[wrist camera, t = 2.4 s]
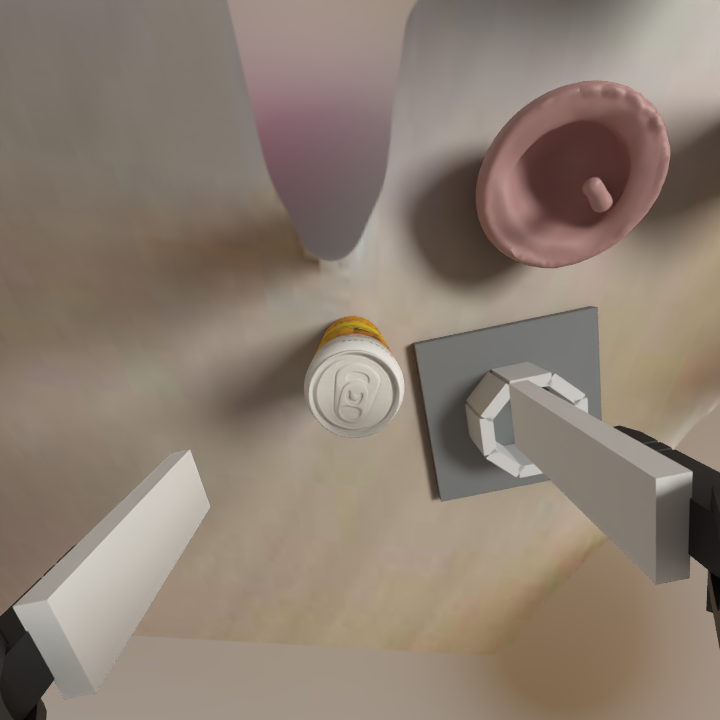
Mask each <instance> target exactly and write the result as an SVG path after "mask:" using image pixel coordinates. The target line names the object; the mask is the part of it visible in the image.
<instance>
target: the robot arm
mask: <svg viewBox="0 0 720 720" xmlns="http://www.w3.org/2000/svg"><path fill="white" fill-rule="evenodd" d="M509 392H510V401H511V411H512V420H513V430H514V439H515V446H516V447H517V448H518V449H519V450H520V451H521V452H522V453H523V454H524V455H525V456H526V457H527V458H528V459H529V460H530V461H531V462H533V463H534V464H535V465H536V466H537V467H538V468H539V469H540V470H541V471H542V472H543V473H544V474H545V475H546V476H547V477H548V478H549V479H550V480H551V481H552V482H553V483H554V484H555V485H556V486H557V487H558V488H559V489H560V490H561V491H562V492H563V493H564V494H565V495H566V496H567V497H568V498H569V499H570V500H571V501H572V502H573V503H574V504H575V505H576V506H577V507H578V508H579V509H580V510H581V511H582V512H583V513H584V514H585V515H586V516H587V517H588V518H589V519H590V520H591V521H592V522H593V523H594V524H595V525H596V526H597V527H598V528H599V529H600V530H601V531H602V532H603V533H604V534H605V535H606V536H607V537H608V538H609V539H610V540H611V541H612V542H613V543H614V544H615V545H616V546H617V547H618V548H619V549H620V550H622V552H623V553H624V554H625V555H626V556H627V557H628V558H629V559H630V560H632V562H633V563H634V564H636V565H637V567H638V568H639V569H640V570H641V571H642V572H644V573H645V574H646V575H647V576H648V577H649V578H650V579H651V580H652V581H653V582H654V583H655V584H656V585H657V584H661V583H667V582H672V581H677V580H683V579H688V578H689V577H690V574H689V573H690V556H692V557H693V558H694V559H695V560H697V561H698V562H699V563H700V564H702V565H703V566H704V567H705V568H707V569H708V585H707V607H706V610H707V611H709V612H712V613H713V615H714V620H715V625H716V631H717V636H718V642H719V647H720V473H719V472H718V471H716V470H714V469H712V468H710V467H708V466H706V465H704V464H702V463H700V462H698V461H696V460H694V459H692V458H690V457H688V456H687V455H685V454H683V453H681V452H679V451H677V450H672V448H671V447H669V446H667V445H665V444H663V443H661V442H659V443H658V441H657V440H656V439H654V438H652V437H650V436H648V435H646V434H644V433H642V432H640V431H637V430H633V429H630V428H626V427H623V426H616V427H612V426H610V425H608V424H606V423H604V422H603V421H601V420H599V419H597V418H595V417H594V416H592V415H590V414H588V413H586V412H585V411H583V410H581V409H579V408H577V407H576V406H574V405H572V404H570V403H568V402H567V401H565V400H563V399H561V398H559V397H558V396H556V395H554V394H552V393H550V392H549V391H547V390H545V389H543V388H541V387H540V386H538V385H536V384H534V383H532V382H531V381H529V380H524V381H519V382H514V383H510V384H509ZM209 508H210V504H209V502H208V499H207V496H206V493H205V490H204V488H203V485H202V482H201V479H200V476H199V474H198V471H197V468H196V465H195V462H194V460H193V457H192V454H191V451H190V449H188V450H183V451H178V452H173V453H171V454H170V455H169V456H168V457H167V458H166V459H165V460H164V461H163V462H162V463H161V464H159V465H158V466H157V467H156V468H155V469H154V470H153V471H152V472H151V473H150V474H149V475H148V476H147V477H146V478H145V479H144V480H143V481H142V482H141V483H140V484H139V485H138V486H137V487H136V488H135V489H134V490H133V491H132V492H131V493H130V494H128V495H127V496H126V497H125V498H124V499H123V500H122V501H121V502H120V503H119V504H118V505H117V506H116V507H115V508H114V509H113V510H112V511H111V512H110V513H109V514H108V515H107V516H106V517H105V518H104V519H103V520H102V521H101V522H100V523H99V524H97V525H96V526H95V527H94V528H93V529H92V530H91V531H90V532H89V533H88V534H87V535H86V536H85V537H84V538H83V539H82V540H81V541H80V542H79V543H78V544H76V545H75V546H73V547H72V548H71V549H70V550H69V551H68V552H67V553H66V554H65V555H64V556H63V557H62V558H61V559H60V560H59V561H58V562H57V564H56V565H53V566H52V567H51V568H50V569H49V570H48V571H47V572H46V573H45V574H44V577H43V578H40V579H39V580H38V581H37V582H36V583H35V584H34V585H33V586H32V587H31V588H30V589H28V590H27V591H26V592H25V593H24V594H23V595H22V596H21V597H20V598H19V599H18V600H17V601H16V602H15V603H14V604H13V605H12V606H11V607H10V608H9V609H8V610H7V611H6V612H5V613H4V614H2V615H1V616H0V720H46V713H47V711H46V708H45V705H44V703H43V701H42V700H41V697H42V696H43V694H44V693H45V691H46V690H47V689H48V687H49V686H50V685H51V683H52V682H53V681H54V682H55V684H56V685H57V687H58V689H59V690H60V692H61V694H62V696H63V698H64V699H68V698H74V697H79V696H84V695H89V694H95V693H96V692H97V691H98V689H99V688H100V686H101V684H102V683H103V681H104V680H105V678H106V676H107V675H108V673H109V671H110V670H111V668H112V667H113V665H114V663H115V662H116V660H117V658H118V657H119V655H120V653H121V652H122V650H123V649H124V647H125V645H126V643H127V642H128V640H129V639H130V637H131V636H132V634H133V632H134V631H135V629H136V627H137V626H138V624H139V623H140V621H141V619H142V618H143V616H144V614H145V613H146V611H147V609H148V608H149V606H150V605H151V603H152V601H153V600H154V598H155V596H156V595H157V593H158V592H159V590H160V588H161V587H162V585H163V583H164V582H165V580H166V579H167V577H168V575H169V574H170V572H171V570H172V569H173V567H174V565H175V564H176V562H177V561H178V559H179V557H180V556H181V554H182V552H183V551H184V549H185V548H186V546H187V544H188V543H189V541H190V539H191V538H192V536H193V535H194V533H195V531H196V530H197V528H198V526H199V525H200V523H201V521H202V520H203V518H204V517H205V515H206V513H207V512H208V510H209Z"/></svg>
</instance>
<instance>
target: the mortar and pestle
mask: <svg viewBox="0 0 720 720" xmlns="http://www.w3.org/2000/svg"><path fill="white" fill-rule="evenodd" d="M669 161H670V144H669V142H668V136H667V132H666V129H665V125H664V122H663V120H662V118H661V115H660V114H659V113H658V111H657V109H656V108H655V106H654V105H653V104H652V103H651V102H650V101H648V100H647V99H646V98H645V97H644V96H643V95H642V94H641V93H639V92H637V91H635V90H633V89H631V88H629V87H627V86H624V85H621V84H618V83H614V82H608V81H583V82H578V83H573V84H569V85H565V86H562V87H560V88H557V89H555V90H552V91H549V92H548V93H546V94H544V95H542V96H540V97H538V98H537V99H535V100H533V101H532V102H530V103H529V104H527V105H526V106H525V107H523V108H522V109H521V110H520V111H519V112H517V113H516V114H515V115H514V116H513V117H512V118H511V119H510V120H509V121H508V122H507V123H506V125H505V126H504V127H503V128H502V129H501V131H500V132H499V133H498V135H497V136H496V138H495V139H494V141H493V142H492V144H491V146H490V147H489V149H488V151H487V153H486V155H485V157H484V159H483V162H482V165H481V168H480V171H479V175H478V179H477V185H476V209H477V214H478V218H479V221H480V224H481V227H482V229H483V231H484V233H485V234H486V236H487V238H488V239H489V240H490V242H491V243H492V244H493V245H494V246H495V247H496V248H497V249H498V250H499V251H500V252H502V253H503V254H504V255H506V256H508V257H509V258H511V259H513V260H515V261H517V262H520V263H522V264H525V265H529V266H534V267H540V268H559V267H563V266H568V265H572V264H576V263H579V262H582V261H584V260H587V259H589V258H592V257H594V256H596V255H598V254H600V253H602V252H603V251H605V250H607V249H608V248H610V247H611V246H613V245H614V244H616V243H617V242H618V241H620V240H621V239H622V238H623V237H624V236H625V235H627V234H628V233H629V232H630V231H631V230H632V229H633V228H634V227H635V226H636V225H637V224H638V223H639V222H640V221H641V220H642V218H643V217H644V216H645V215H646V214H647V213H648V211H649V209H650V208H651V207H652V205H653V203H654V202H655V200H656V199H657V197H658V196H659V193H660V191H661V189H662V185H663V184H664V182H665V178H666V176H667V171H668V168H669V166H668V165H669Z"/></svg>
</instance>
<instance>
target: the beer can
mask: <svg viewBox="0 0 720 720" xmlns="http://www.w3.org/2000/svg"><path fill="white" fill-rule="evenodd" d="M304 396H305V400H306V403H307V406H308V408H309V410H310V412H311V413H312V415H313V416H314V417H315V419H316V420H317V421H318V422H319V423H320V424H321V425H322V426H323V427H324V428H326V429H327V430H329V431H330V432H332V433H334V434H336V435H339V436H343V437H348V438H360V437H366V436H369V435H372V434H374V433H376V432H378V431H380V430H381V429H383V428H384V427H385V426H386V425H387V424H388V423H389V422H390V421H391V420H392V418H393V417H394V416H395V415H396V413H397V412H398V410H399V408H400V406H401V403H402V400H403V396H404V379H403V375H402V372H401V369H400V367H399V365H398V363H397V362H396V360H395V358H394V356H393V354H392V353H391V351H390V349H389V347H388V345H387V344H386V342H385V340H384V338H383V337H382V335H381V333H380V331H379V330H378V328H377V327H376V326H375V325H374V324H373V323H372V322H370V321H369V320H367V319H365V318H362V317H357V316H348V317H344V318H341V319H339V320H337V321H335V322H334V323H333V324H331V325H330V326H329V328H328V329H327V330H326V332H325V334H324V336H323V338H322V340H321V342H320V345H319V347H318V349H317V351H316V353H315V355H314V357H313V359H312V362H311V364H310V366H309V368H308V370H307V373H306V376H305V381H304Z"/></svg>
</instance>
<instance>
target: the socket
mask: <svg viewBox="0 0 720 720" xmlns="http://www.w3.org/2000/svg"><path fill="white" fill-rule="evenodd" d="M413 346H414V351H415V357H416V363H417V369H418V375H419V381H420V387H421V392H422V398H423V404H424V410H425V416H426V422H427V428H428V433H429V439H430V445H431V451H432V457H433V463H434V469H435V474H436V480H437V486H438V492H439V497H440V499H441V502H442V501H447V500H452V499H457V498H462V497H467V496H473V495H478V494H483V493H488V492H493V491H498V490H503V489H508V488H513V487H518V486H523V485H528V484H534V483H539V482H544V481H549V480H550V479H549V478H548V477H547V476H546V475H545V474H544V473H543V472H542V471H541V470H540V469H539V468H538V467H537V466H536V465H535V464H534V463H533V462H531V461H530V460H529V459H528V458H527V457H526V456H525V455H524V454H523V453H522V452H521V451H520V450H519V449H518V448H517V447H516V446H515V439H514V430H513V420H512V411H511V401H510V392H509V384H510V383H514V382H519V381H524V380H529V381H531V382H532V383H534V384H536V385H538V386H540V387H541V388H543V389H545V390H547V391H549V392H550V393H552V394H554V395H556V396H558V397H559V398H561V399H563V400H565V401H567V402H568V403H570V404H572V405H574V406H576V407H577V408H579V409H581V410H583V411H585V412H586V413H588V414H590V415H592V416H594V417H595V418H597V419H599V420H601V421H602V416H601V389H600V361H599V334H598V307H592V306H590V307H585V308H580V309H575V310H570V311H565V312H561V313H556V314H551V315H546V316H541V317H536V318H532V319H527V320H522V321H517V322H512V323H507V324H503V325H498V326H493V327H488V328H483V329H478V330H474V331H469V332H464V333H459V334H454V335H449V336H444V337H440V338H435V339H430V340H425V341H420V342H415V343H413Z"/></svg>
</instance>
